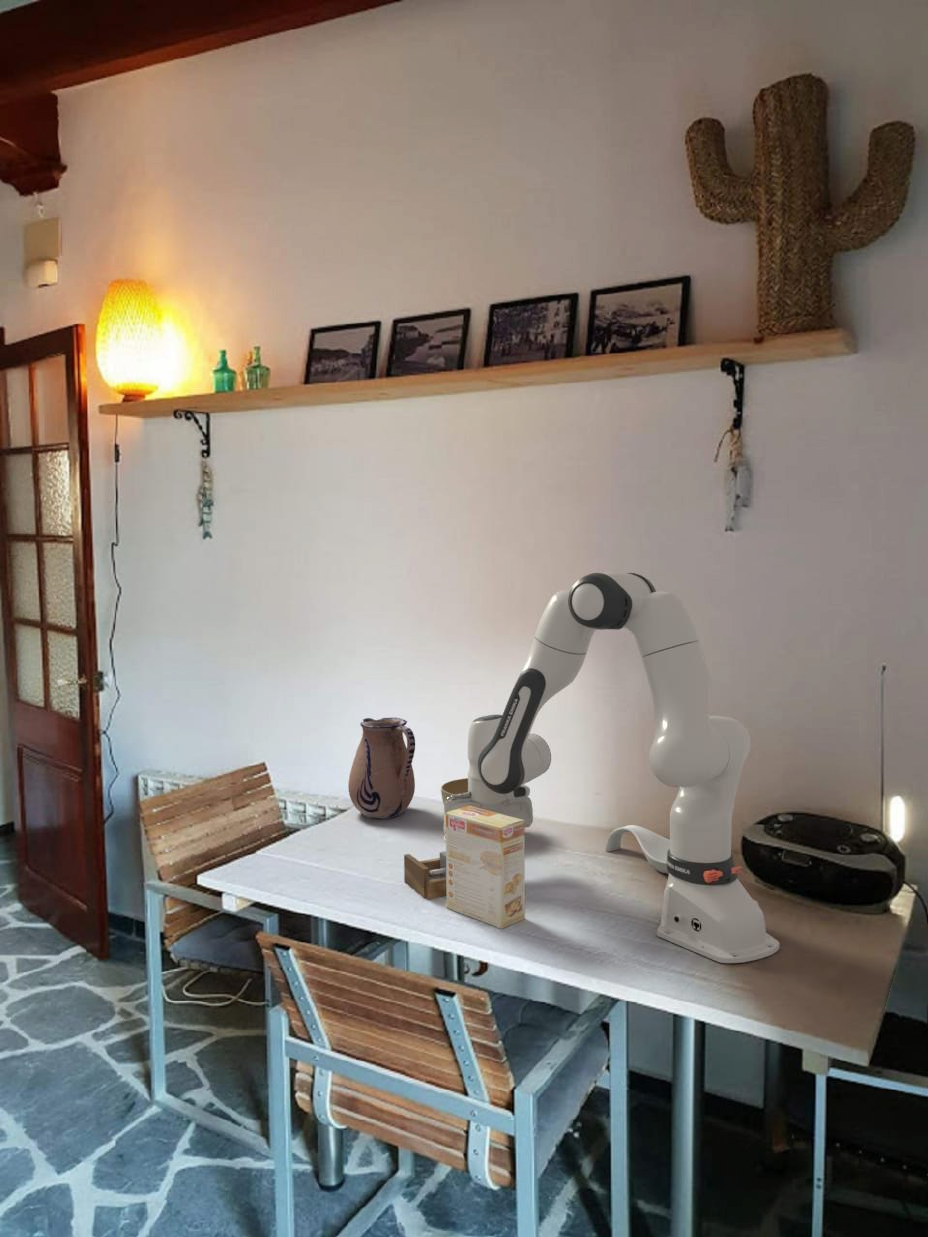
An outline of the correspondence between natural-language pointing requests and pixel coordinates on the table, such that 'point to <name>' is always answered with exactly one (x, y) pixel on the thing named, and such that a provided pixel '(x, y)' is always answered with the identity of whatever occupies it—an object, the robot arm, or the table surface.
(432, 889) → the brown wooden frame
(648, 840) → the spoon rest
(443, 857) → the pusher
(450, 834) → the coffeecake box
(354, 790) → the ceramic pitcher
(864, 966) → the table surface
